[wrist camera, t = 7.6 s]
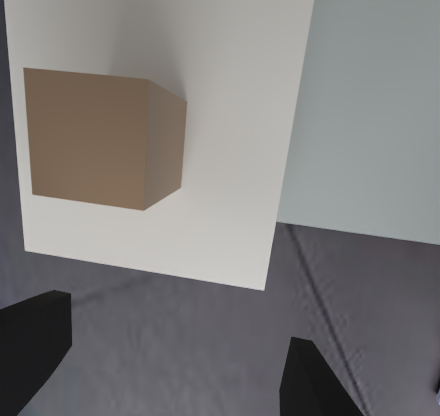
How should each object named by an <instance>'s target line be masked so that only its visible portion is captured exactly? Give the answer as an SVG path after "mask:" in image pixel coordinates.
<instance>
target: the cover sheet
mask: <svg viewBox="0 0 440 416" xmlns="http://www.w3.org/2000/svg"><path fill="white" fill-rule="evenodd" d="M313 4H314V0H4V5H5V17H6V29H7V41H8V53H9V65H10V77H11V89H12V101H13V113H14V124H15V136H16V148H17V160H18V172H19V184H20V196H21V208H22V220H23V232H24V244H25V251H30V252H36V253H42V254H48V255H54V256H60V257H66V258H72V259H78V260H84V261H90V262H96V263H102V264H108V265H114V266H120V267H126V268H132V269H138V270H144V271H150V272H156V273H162V274H168V275H174V276H180V277H186V278H192V279H197V280H203V281H209V282H215V283H221V284H227V285H233V286H239V287H245V288H251V289H257V290H263V291H264V288H265V283H266V277H267V271H268V265H269V259H270V254H271V248H272V242H273V236H274V230H275V225H276V219H277V213H278V207H279V201H280V195H281V190H282V184H283V178H284V172H285V166H286V161H287V155H288V149H289V143H290V137H291V132H292V126H293V120H294V114H295V108H296V103H297V97H298V91H299V85H300V79H301V74H302V68H303V62H304V56H305V50H306V45H307V39H308V33H309V27H310V21H311V16H312V10H313Z"/></svg>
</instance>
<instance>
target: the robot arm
mask: <svg viewBox="0 0 440 416" xmlns="http://www.w3.org/2000/svg"><path fill="white" fill-rule="evenodd" d="M71 346H72V322H71V293H66V292H61V291H56V290H53V291H49V292H46V293H43V294H40V295H37V296H35V297H32V298H29V299H27V300H24V301H21V302H19V303H16V304H13V305H11V306H8V307H6V308H3V309H1V310H0V416H17V415H18V413H19V412H20V411H21V410H22V409H23V408H24V407H25V406H26V404H27V403H28V402H29V401H30V400H31V399H32V397H33V396H34V395H35V394H36V393H37V392H38V390H39V389H40V388H41V387H42V386H43V385H44V383H45V382H46V381H47V380H48V379H49V378H50V376H51V375H52V373H53V372H54V371H55V369H56V368H57V367H58V365H59V364H60V362H61V361H62V359H63V358H64V356H65V355H66V353H67V352H68V350H69V349H70V348H71ZM279 391H280V416H364V415H363V414H362V412H361V411H360V410H359V408H358V407H357V406H356V404H355V403H354V401H353V400H352V399H351V397H350V396H349V394H348V393H347V392H346V390H345V389H344V387H343V386H342V384H341V383H340V381H339V380H338V378H337V377H336V375H335V374H334V373H333V371H332V370H331V368H330V367H329V365H328V364H327V362H326V361H325V359H324V358H323V356H322V355H321V353H320V352H319V350H318V349H317V347H316V346H315V344H314V343H313V341H311V340H306V339H301V338H295V337H291V342H290V346H289V350H288V355H287V359H286V364H285V368H284V372H283V377H282V381H281V386H280V390H279ZM436 400H437V402H438V404H439V405H440V390H439V392H438V394H437V397H436Z"/></svg>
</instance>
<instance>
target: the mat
mask: <svg viewBox="0 0 440 416" xmlns="http://www.w3.org/2000/svg"><path fill="white" fill-rule="evenodd" d="M276 222H283V223H290V224H297V225H304V226H311V227H318V228H325V229H332V230H339V231H346V232H353V233H360V234H367V235H374V236H382V237H389V238H396V239H403V240H410V241H417V242H424V243H431V244H438V245H440V0H314V4H313V10H312V16H311V21H310V27H309V33H308V39H307V45H306V50H305V56H304V62H303V68H302V74H301V79H300V85H299V91H298V97H297V103H296V108H295V114H294V120H293V126H292V132H291V137H290V143H289V149H288V155H287V161H286V166H285V172H284V178H283V184H282V190H281V195H280V201H279V207H278V213H277V219H276Z"/></svg>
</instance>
